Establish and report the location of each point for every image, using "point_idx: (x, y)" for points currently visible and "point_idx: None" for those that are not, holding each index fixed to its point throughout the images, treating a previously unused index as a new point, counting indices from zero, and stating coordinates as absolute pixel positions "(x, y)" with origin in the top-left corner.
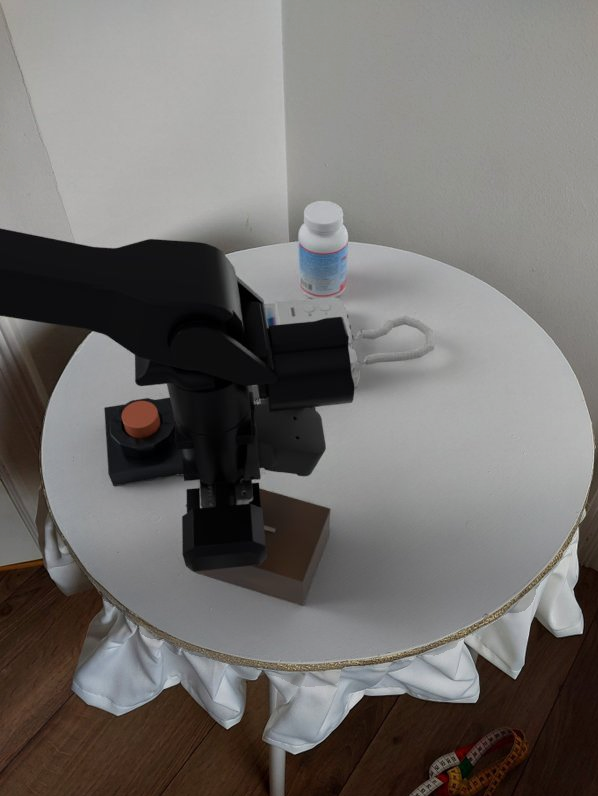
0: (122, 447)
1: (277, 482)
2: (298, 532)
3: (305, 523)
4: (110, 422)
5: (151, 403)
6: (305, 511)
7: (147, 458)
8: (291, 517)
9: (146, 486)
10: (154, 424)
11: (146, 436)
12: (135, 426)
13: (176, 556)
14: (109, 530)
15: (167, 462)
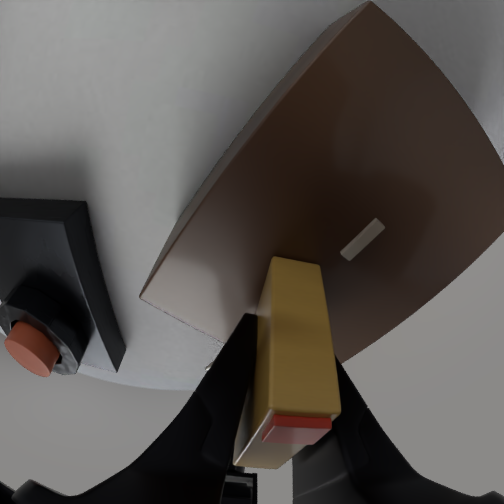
0: (78, 367)
1: (135, 105)
2: (421, 153)
3: (401, 114)
4: None
5: (5, 341)
6: (352, 90)
7: (86, 334)
8: (355, 150)
9: (125, 321)
10: (34, 345)
11: (54, 345)
12: (47, 371)
13: None
14: (194, 366)
15: (90, 316)
